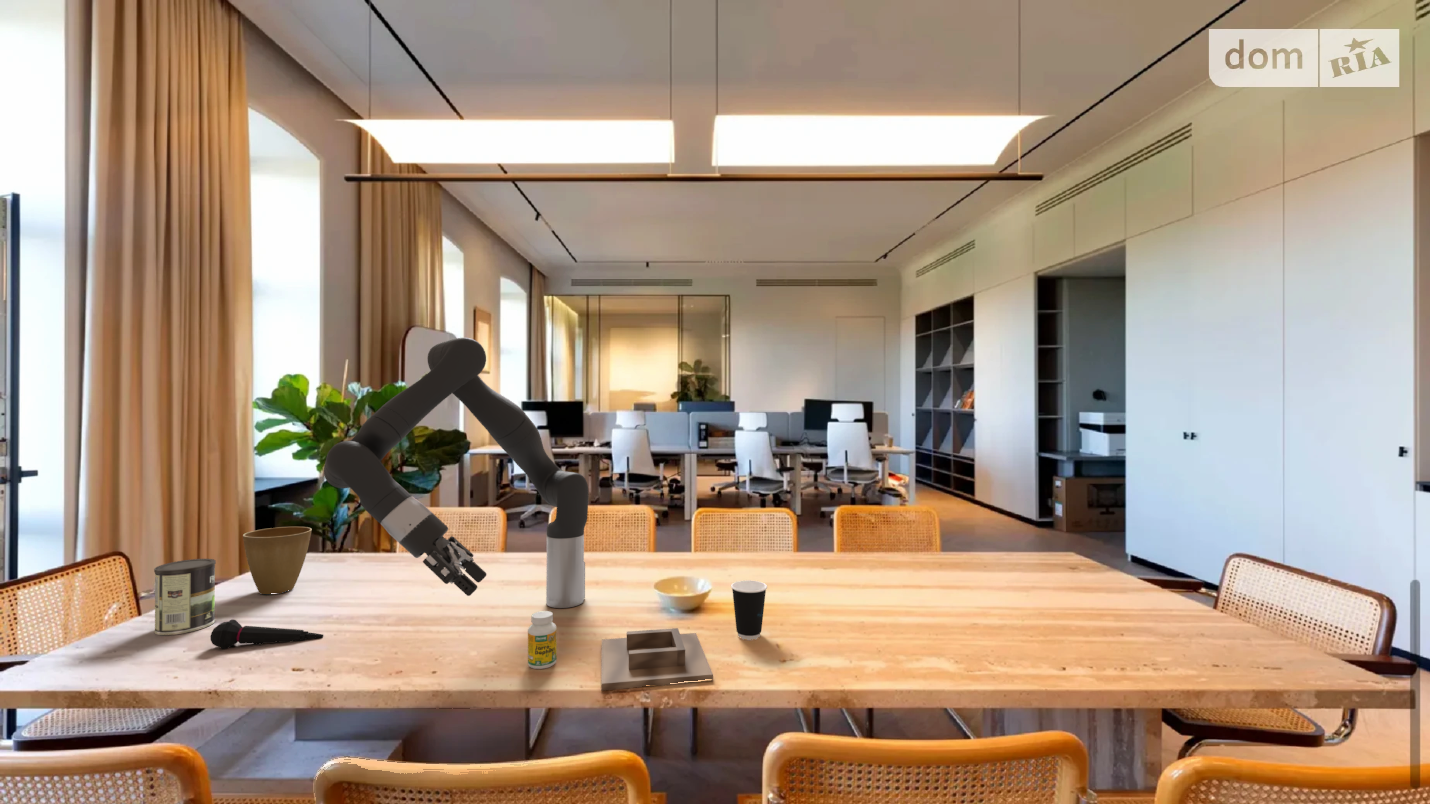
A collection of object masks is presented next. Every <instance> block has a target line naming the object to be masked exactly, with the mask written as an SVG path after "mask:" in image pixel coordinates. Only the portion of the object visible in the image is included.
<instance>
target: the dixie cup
mask: <svg viewBox="0 0 1430 804" xmlns="http://www.w3.org/2000/svg"><path fill="white" fill-rule="evenodd" d="M730 587H731V589H732V590H731V591H732V599H733V609H734V618H735V619H734V620H735V628H736V629H735V631H736V633H737V637H738V636H739V637H741V638H742V639H741V638H740V639H741V640H744V639H747V640H746V641H754V640H753V639H755V640H758V639H759V638H760V637H761V633H762V628H763V618H764V610H765V600H766V593H767V592H766V591H767V589H768V585H767V584H766V583H764V582H762V581H759V580H751V579H748V580H747V579H746V580H739V581H737V580H736V581H735V582H733V583H731V585H730ZM739 637H738V638H739ZM758 637H759V638H758ZM757 638H758V639H757ZM751 639H752V640H751Z"/></svg>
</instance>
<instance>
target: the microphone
mask: <svg viewBox="0 0 1430 804" xmlns="http://www.w3.org/2000/svg"><path fill="white" fill-rule="evenodd" d="M209 637H210V642H211V644H212V645H213V646H216V647H218V648H219V649H222V650H227V649H228V647H229V648H230V647H233V646H235V645H236V644H237V643H239V644H240V645H241V644H242V645H243V644H244V645H245V644H252V645H263V644H268V643H269V644H270V643H290V641H293V642H301V641H306V640H314V639H323V638H324V634H321V633H317V632H316V633H315V632H309V631H304V630H303V629H296V628H295V629H294V628H293V629H292V628H283V627H282V628H280V627H267V626H252V625H244V626H242V624H240V622H238V620H236V619H229V620H228V621H224V622H221V623H219V624H218V625H216V627H214V628H213V630H212V631H211V633H210V636H209Z"/></svg>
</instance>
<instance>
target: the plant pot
mask: <svg viewBox="0 0 1430 804" xmlns="http://www.w3.org/2000/svg"><path fill="white" fill-rule="evenodd" d="M311 536H312V528H311V527H308V526H279V527H273V528H272V527H270V528H262V529H257V530H253V531H247V532H246V533H244V534H243V535H242V541H243V546H244V552H245V557H246V561H247V565H248V568H249V572H250V575H251V577H252V580H253V583H254V584H255V587H256V589H257V592H258V593H259V594H260V593H261V594H260V595H262V594H271V593H280V594H283V593H282V592H285V591H288V590H291V591H293V590H294V588H295V586H296V584H297V581H298V579H299V578H300V574H301V572H302V569H303V567H304V563H305V559H306V557H307V553H308V549H309V546H310V541H311ZM288 592H289V591H288ZM285 593H286V592H285Z"/></svg>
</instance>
